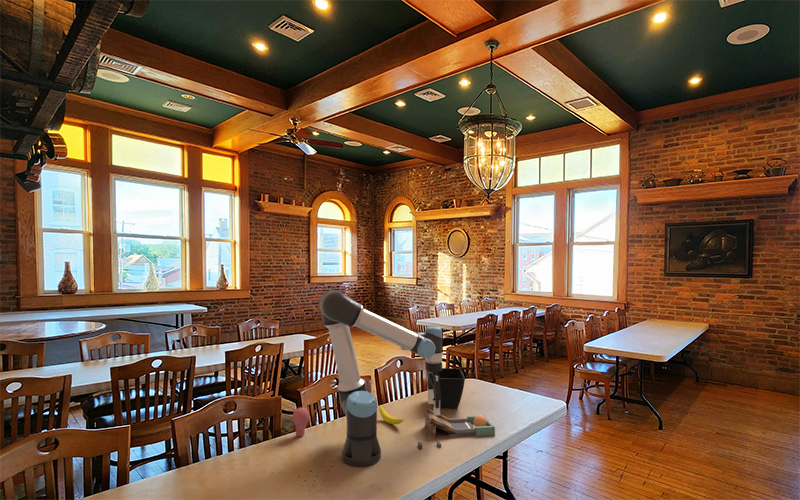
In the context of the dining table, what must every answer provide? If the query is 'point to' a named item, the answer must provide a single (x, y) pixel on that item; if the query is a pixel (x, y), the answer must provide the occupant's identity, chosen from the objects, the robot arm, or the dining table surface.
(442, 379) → the flower pot
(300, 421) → the light bulb
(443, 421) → the ramp
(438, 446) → the grey flat pieces
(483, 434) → the green open tray
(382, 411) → the banana
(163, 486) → the dining table surface
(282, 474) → the dining table surface
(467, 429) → the runway
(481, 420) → the ball
